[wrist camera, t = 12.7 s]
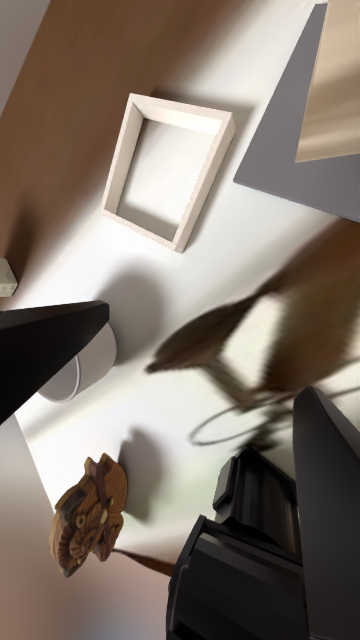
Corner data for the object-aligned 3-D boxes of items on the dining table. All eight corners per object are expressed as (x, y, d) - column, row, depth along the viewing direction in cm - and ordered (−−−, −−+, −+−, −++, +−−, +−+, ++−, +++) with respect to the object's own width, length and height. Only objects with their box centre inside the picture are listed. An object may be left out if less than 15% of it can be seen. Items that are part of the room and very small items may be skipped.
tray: (235, 131, 16) (232, 112, 14) (181, 254, 19) (174, 250, 18) (141, 110, 19) (130, 93, 18) (110, 218, 23) (99, 212, 21)
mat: (528, 12, 9) (538, 1, 9) (368, 225, 13) (371, 223, 13) (314, 11, 13) (315, 4, 12) (233, 182, 16) (233, 179, 16)
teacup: (114, 294, 24) (51, 295, 17) (139, 370, 24) (86, 402, 17) (58, 322, 31) (-5, 331, 23) (78, 382, 31) (21, 410, 24)
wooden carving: (137, 529, 29) (81, 632, 20) (116, 516, 31) (57, 605, 22) (128, 437, 27) (61, 508, 18) (106, 429, 29) (36, 490, 20)
